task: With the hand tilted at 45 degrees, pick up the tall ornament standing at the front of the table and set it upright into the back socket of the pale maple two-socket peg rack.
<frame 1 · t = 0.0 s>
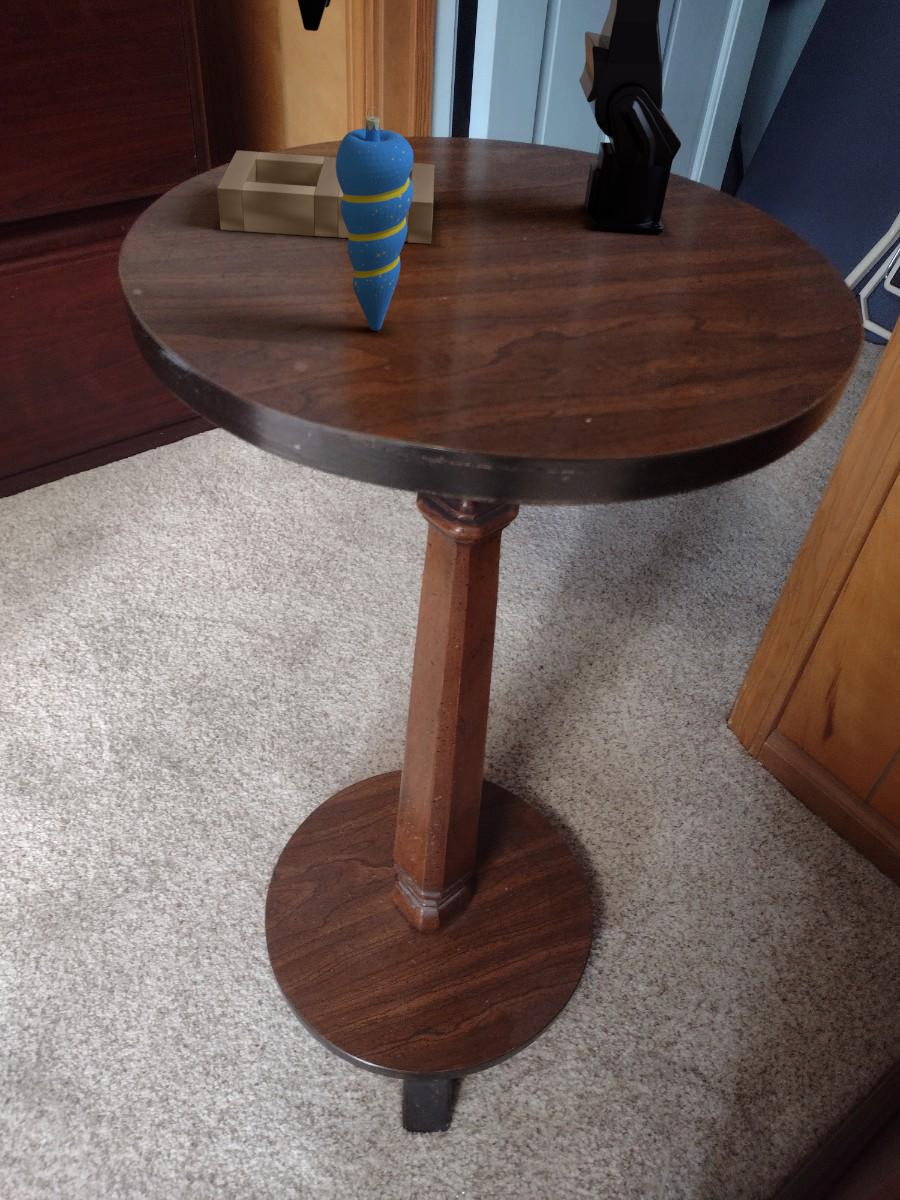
hand: (317, 18, 80), 15 cm above the table, tool pointing down, fingers open, 9 cm apart
rack: (331, 215, 87), on the table
ornament: (372, 332, 71), on the table
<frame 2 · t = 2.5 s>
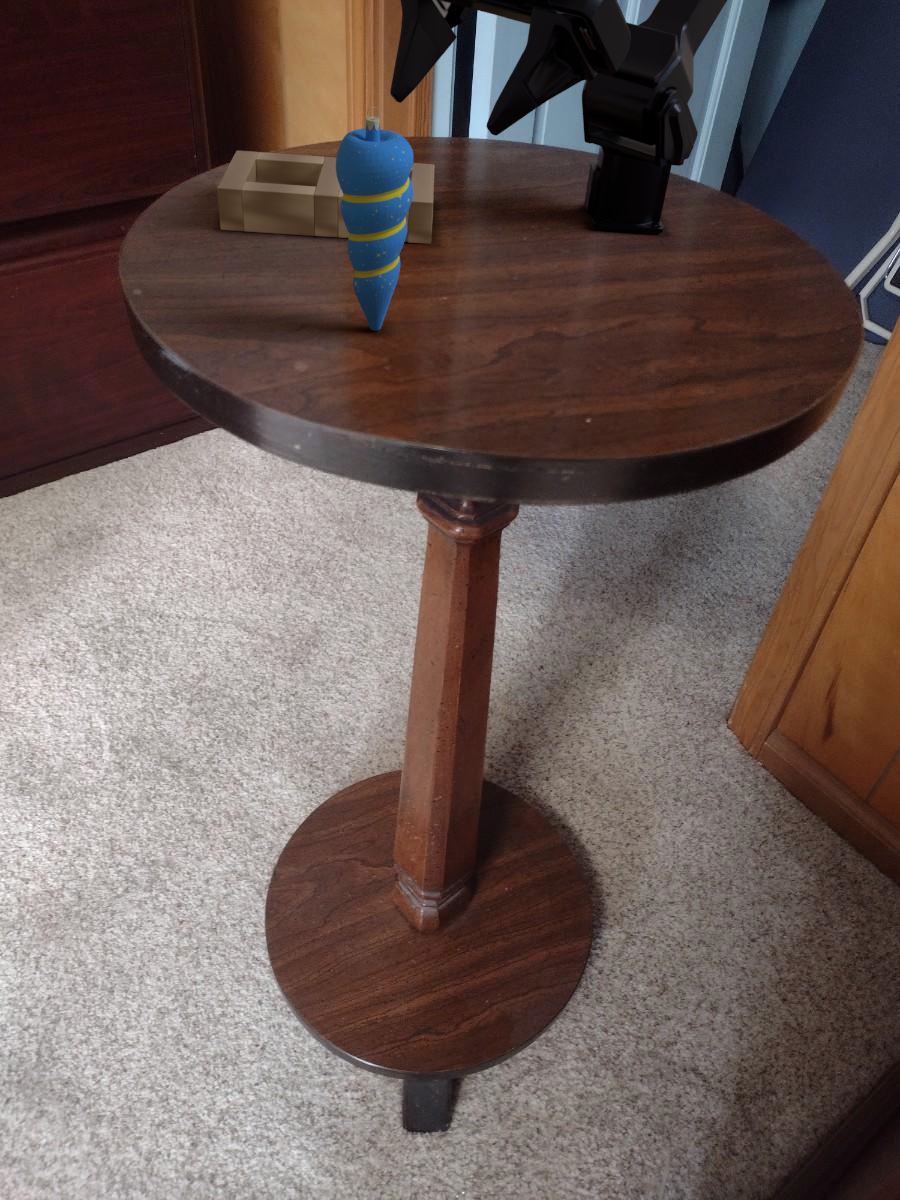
hand: (441, 114, 67), 13 cm above the table, tool tilted 40°, fingers open, 9 cm apart
nothing on the table moved.
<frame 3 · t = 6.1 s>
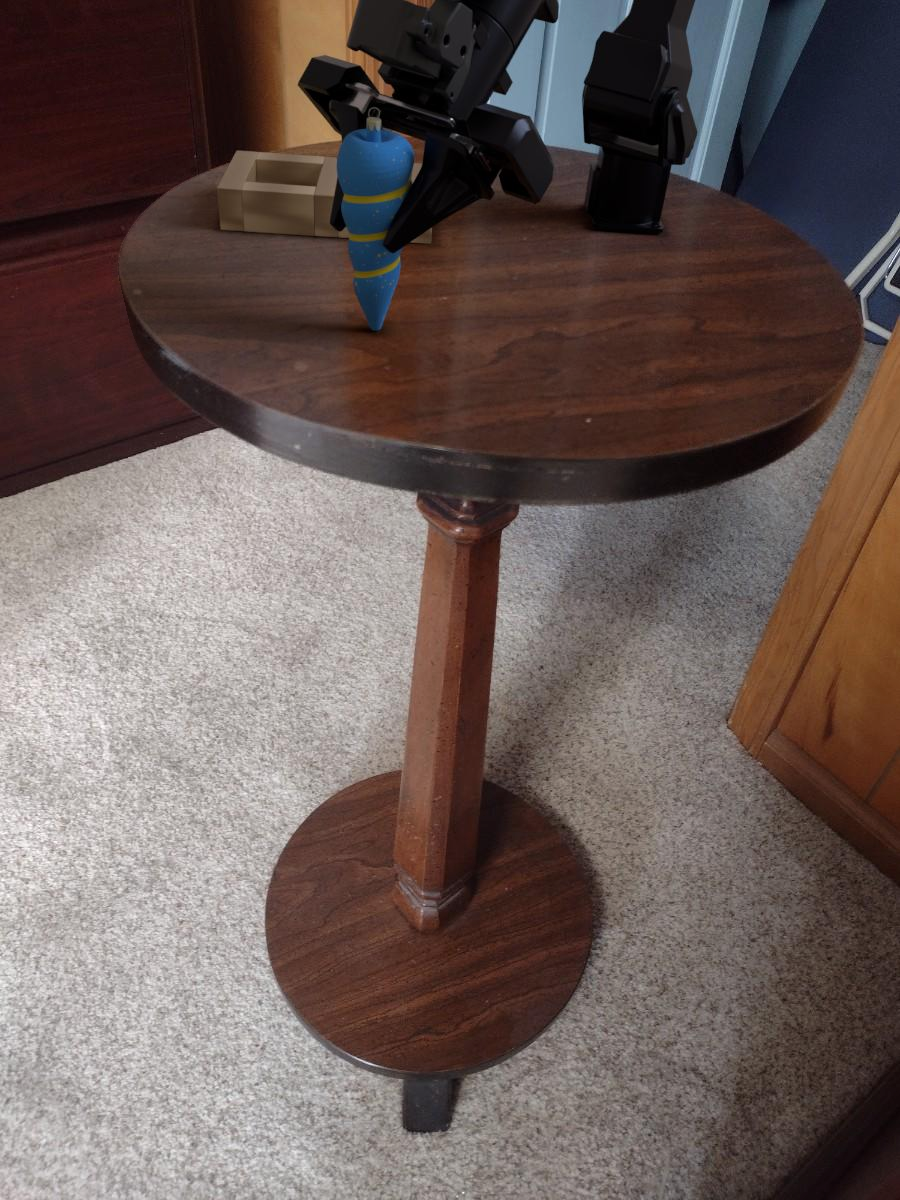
hand: (360, 238, 65), 7 cm above the table, tool tilted 45°, fingers closed on ornament, 4 cm apart
ornament: (373, 333, 71), on the table, touching gripper
when the fingers open (7 cm above the table, at t = 13.0 s): ornament stays where it is, resting in rack.
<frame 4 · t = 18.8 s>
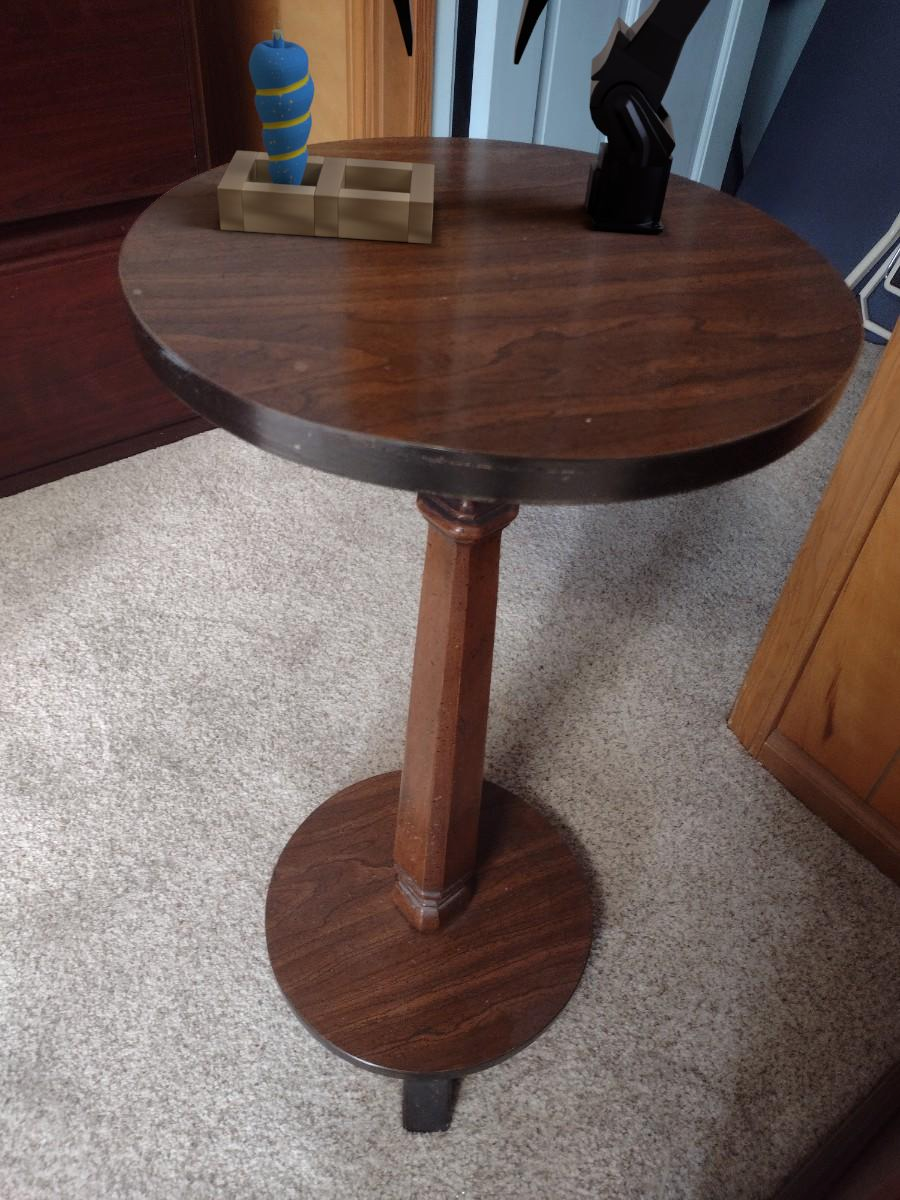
hand: (463, 59, 84), 12 cm above the table, tool pointing down, fingers open, 9 cm apart
ornament: (287, 215, 87), resting in rack
at the end: ornament 0.1 cm from the target spot in the rack, point 0.0 cm above the rack's base; ornament tilted 0°; the gripper is holding nothing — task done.
